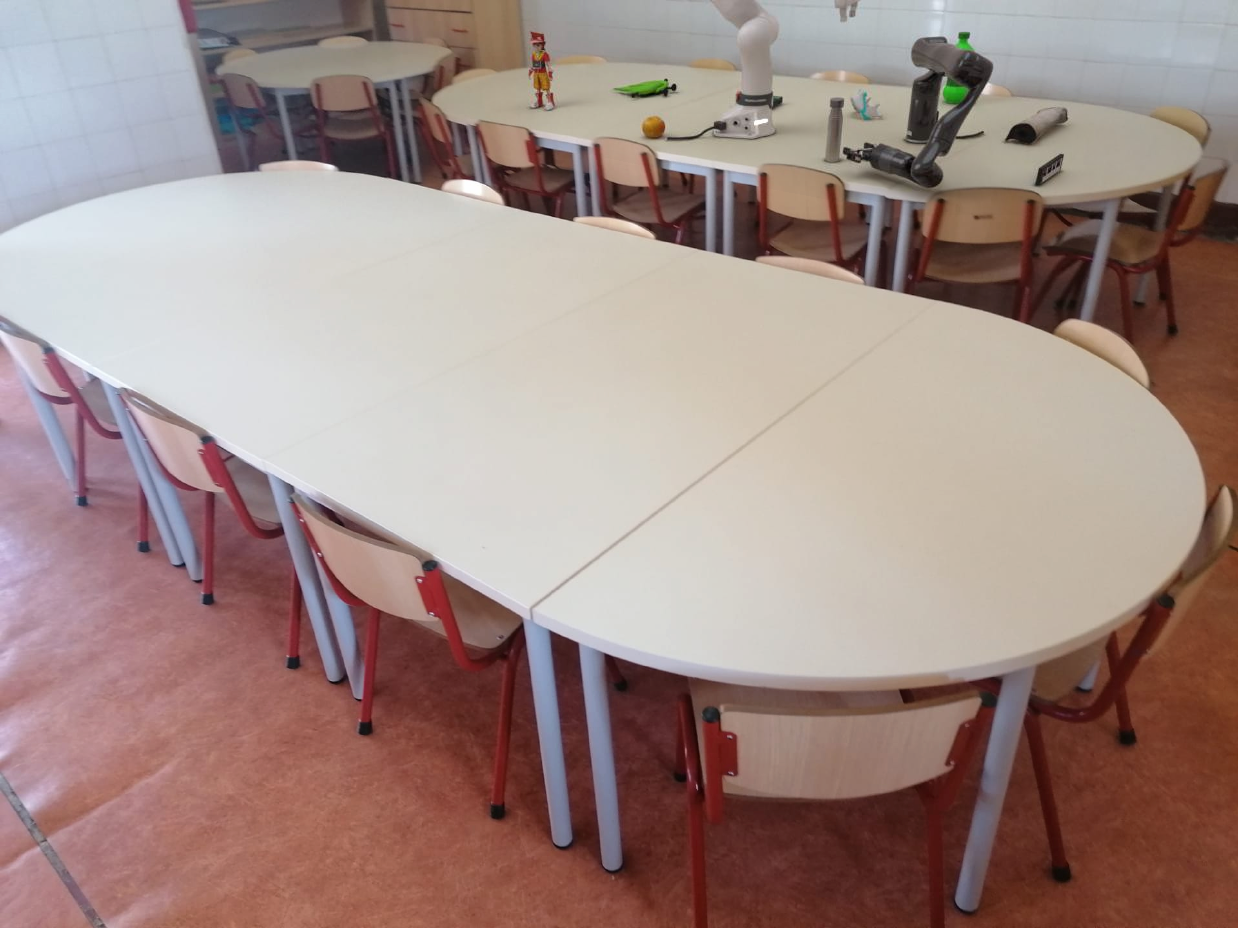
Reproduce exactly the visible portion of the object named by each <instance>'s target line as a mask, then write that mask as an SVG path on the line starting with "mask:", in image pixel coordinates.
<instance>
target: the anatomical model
mask: <svg viewBox="0 0 1238 928" xmlns="http://www.w3.org/2000/svg"><path fill="white" fill-rule="evenodd" d="M866 97H867V98H866ZM871 99H872V98H871V97H870V96H869V97H868V94H867V92H866V91H864V90H863V89H862V88H861V89H859V90H858V92H857V93H856V94H853V95H851V96H850V102H851V106H852V107H853V110H854V111H856V112H860V114H861V116H862V117H863V119H864V120H871V119H873V118H879V119H880V118H883V117H884V116H885V115H884V113H879V112H878V111H877V110H878V108H879V107H880V106H881V104H880V103H875V104H874V105H869V102H870V101H871Z"/></svg>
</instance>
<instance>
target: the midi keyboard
mask: <svg viewBox="0 0 1238 928" xmlns="http://www.w3.org/2000/svg"><path fill="white" fill-rule="evenodd" d="M1064 157H1065V153H1059V154H1058V155H1056V156H1055V157H1052V159H1051V160H1049V161H1047V162H1045V164H1042V165H1041V166H1039V167H1038V169H1037V175H1036V179H1035V186H1040V185H1042V183H1044V182H1045V181H1047V180H1048V179H1049V178H1051V177H1052V176H1054V175H1055V174H1056V173H1058V172H1060V171H1061V170H1062V165H1063V161H1064Z"/></svg>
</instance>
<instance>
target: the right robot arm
mask: <svg viewBox="0 0 1238 928" xmlns="http://www.w3.org/2000/svg"><path fill="white" fill-rule="evenodd" d="M910 58H911V62H912V63H913V65H914V67H916V68H924V69H926V70H928V71H927V72H925V73H924V74H922V75H920V76H917V77H915V78H914V79H913V81H912V86H911V95H910V103H909V112H908V119H907V125H906V134H905V141H906V142H908V143H912V144H925V145H924V146H923V147H922V149H921V150H920V152H918V154H917V155H916V156H915V155H914V154H912V153H909V152H906V151H903V150H901V149H899V148H897V147H893V146H890V145H887V144H884V143H879V144H877V143H871V142H864V143H863V148H862V147H859V148H858V149H854V148H850V147H847V146H844V147H842V148H843V149H842V155H844V156H846V157H845V158H846V160H847V161H851V162H854V163H856V164H861V163H862V161H863V162H866V163H869V165H870V167H872V168H873V169H875V170H877V171H880V172H884V173H886V174H889V175H894V176H897V177H900V178H903V179H907V180H908V181H910V182H912V183H913V184H915V185H918V186H920V187H922V188H925V189H934V188H937V187H938V186H939V185H940V184H942V182H943V180H944V174H945V173H944V171H943V169H942V167H941V166H940V165H938V164H937V163H936V162H935V161H936V159H937V158H943V157H946V156H948V154H949V153H950V151H951V149H952V147H953V145H954V143H955V140H957V139H958V140H963V139H971V138H976V137H978V136H981V135H984V134H985V131H984V130H981V131H978V132H977V133H973V134H966V135H958V133H959V131H960V130H961V128H962V126H963V124H964V122H965V120H966V119H967V117H968V116H969V114H970V112H971V111H972V109H973V108H974V106H975V104H976V103H977V101H978V99H979V98H980V96H981V95H982V93H983V92H984V89H985V88H986V86H987V84H989V83H988V82H989V81H990V79H991V76H992V74H993V72H994V63H993V62H992V60H990V59H989V58H987V57H985V56H983V55H982V54H980V53H978V52H976V51H975V52H974V51H972V50H969V49H961V48H960V47H958V46H956V44H953V43H948V39H947V38H946V37H945V36H942V35H941V36H940V35H939V36H924V37H920V38H917V39H916V40H915V41H914V43H913V45H912V46H911V50H910ZM947 77H949V78H950V79H951V80H953V81H954V82H956V83H958V84H960V85H961V86H963V87H965V88H967V89H968V92H967V94H966V96H965V97H964V99H963V100H962V101H961V102H960V103H957V105H955V106H954V107H953V108H951V109H949V110H948V111H947V112H945V113H944V114H943V115H942V116H941V117H939V116H940V111H939V110H938V108H939V101H940V95H941V87H942V83H943V79H944V78H947Z"/></svg>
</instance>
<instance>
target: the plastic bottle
mask: <svg viewBox="0 0 1238 928" xmlns="http://www.w3.org/2000/svg"><path fill="white" fill-rule="evenodd" d="M970 36H971V32H970V31H959V32H958V36H957V39H958V42H957V43H956V44H955V45H956V46H958V47H960V48H961V49H969V50H972V51H974V52H976V51H975V49H974V47H972V45H971V44H970V43H969V42H968V41H969V39H970V38H971V37H970ZM967 92H968V89H967V88H965V87H963V86H961V85H960V84H958V83H956V82H954V81H953V80H951V79H950V78H949V77H946V84H945V85H944V87H943V90H942V97H943V99H944V100H945V101H946V102H947V103H948V104H959V103H960V102H961V101H962V100H963V99H964V97H965V96H966V94H967Z"/></svg>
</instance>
